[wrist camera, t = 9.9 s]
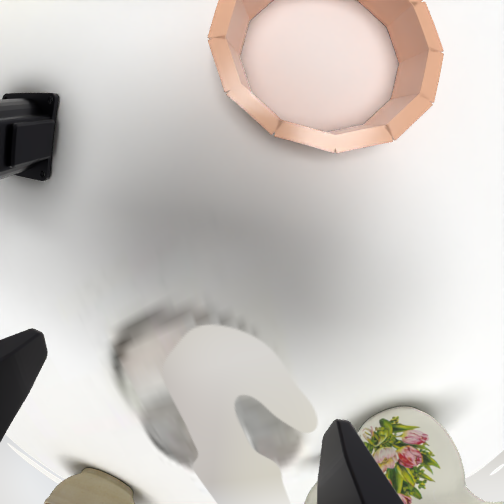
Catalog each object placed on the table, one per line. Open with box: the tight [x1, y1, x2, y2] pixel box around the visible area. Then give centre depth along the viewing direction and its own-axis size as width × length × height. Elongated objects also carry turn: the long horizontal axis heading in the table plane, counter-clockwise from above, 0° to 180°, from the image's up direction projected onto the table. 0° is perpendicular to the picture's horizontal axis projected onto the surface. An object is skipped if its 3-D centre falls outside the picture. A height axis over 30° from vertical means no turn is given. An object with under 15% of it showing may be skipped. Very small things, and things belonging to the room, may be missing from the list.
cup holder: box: [208, 0, 444, 153], centre depth 13 cm, size 11×11×4 cm
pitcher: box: [304, 406, 504, 504], centre depth 20 cm, size 11×18×14 cm, turn 127°
